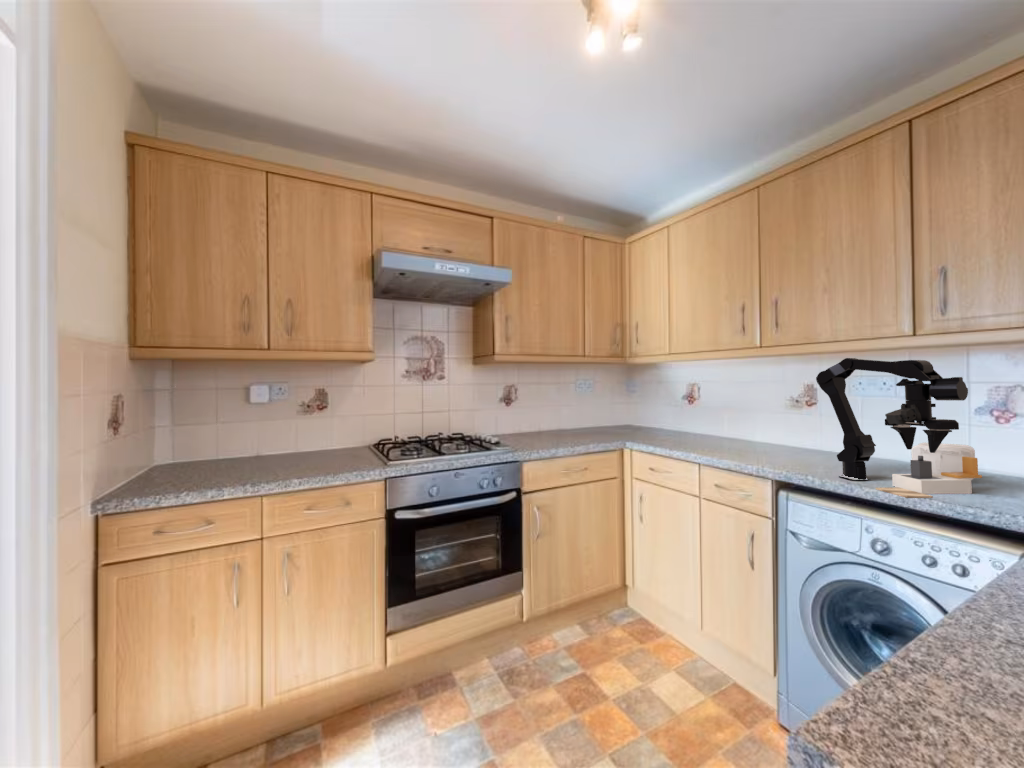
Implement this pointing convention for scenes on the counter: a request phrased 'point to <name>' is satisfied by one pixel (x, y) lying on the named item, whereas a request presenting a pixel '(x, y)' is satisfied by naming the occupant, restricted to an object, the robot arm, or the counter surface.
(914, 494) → the cork pad
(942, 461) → the cable organizer
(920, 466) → the plug
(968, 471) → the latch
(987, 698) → the counter surface
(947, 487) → the white recessed block
